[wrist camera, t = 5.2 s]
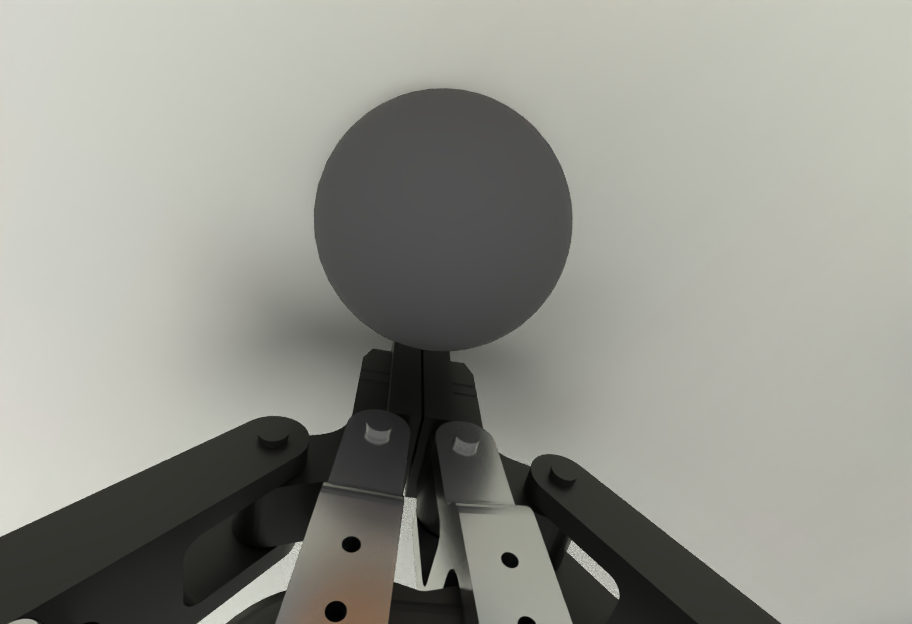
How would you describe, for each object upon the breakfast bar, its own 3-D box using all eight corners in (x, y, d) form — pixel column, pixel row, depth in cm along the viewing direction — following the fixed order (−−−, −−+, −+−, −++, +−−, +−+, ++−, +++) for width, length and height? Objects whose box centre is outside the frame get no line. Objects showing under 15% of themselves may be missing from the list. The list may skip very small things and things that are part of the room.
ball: (623, 361, 10) (587, 181, 13) (516, 173, 6) (500, -20, 9) (401, 411, 12) (414, 246, 16) (219, 294, 9) (286, 106, 12)
